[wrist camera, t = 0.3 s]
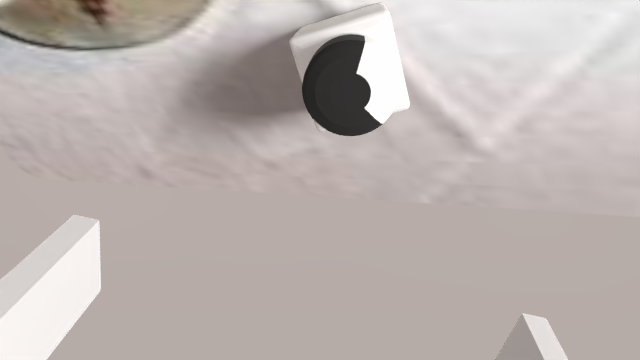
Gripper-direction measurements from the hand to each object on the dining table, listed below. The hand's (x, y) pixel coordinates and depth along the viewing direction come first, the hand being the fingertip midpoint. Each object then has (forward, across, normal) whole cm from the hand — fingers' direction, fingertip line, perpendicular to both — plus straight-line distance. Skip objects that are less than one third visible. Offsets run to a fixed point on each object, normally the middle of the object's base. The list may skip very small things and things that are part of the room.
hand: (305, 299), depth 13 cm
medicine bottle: (+28, +1, +2) cm, 28 cm away
